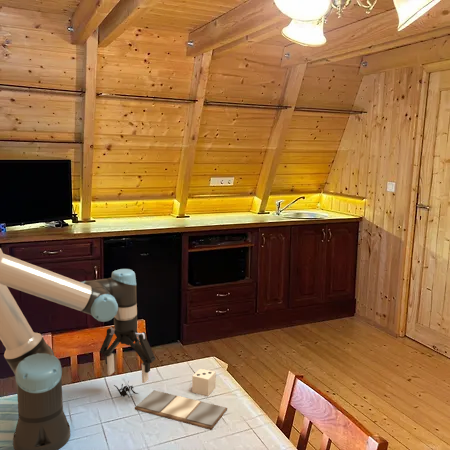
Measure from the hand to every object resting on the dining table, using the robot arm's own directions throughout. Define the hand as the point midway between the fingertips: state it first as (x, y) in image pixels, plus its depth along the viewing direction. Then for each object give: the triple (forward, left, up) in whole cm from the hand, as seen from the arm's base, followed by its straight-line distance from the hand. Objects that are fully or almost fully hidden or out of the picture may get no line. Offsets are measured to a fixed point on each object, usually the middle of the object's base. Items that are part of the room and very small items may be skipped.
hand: (128, 377), depth 158 cm
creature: (-1, 0, -7) cm, 7 cm away
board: (+20, 0, -7) cm, 21 cm away
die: (+22, +14, -7) cm, 26 cm away
